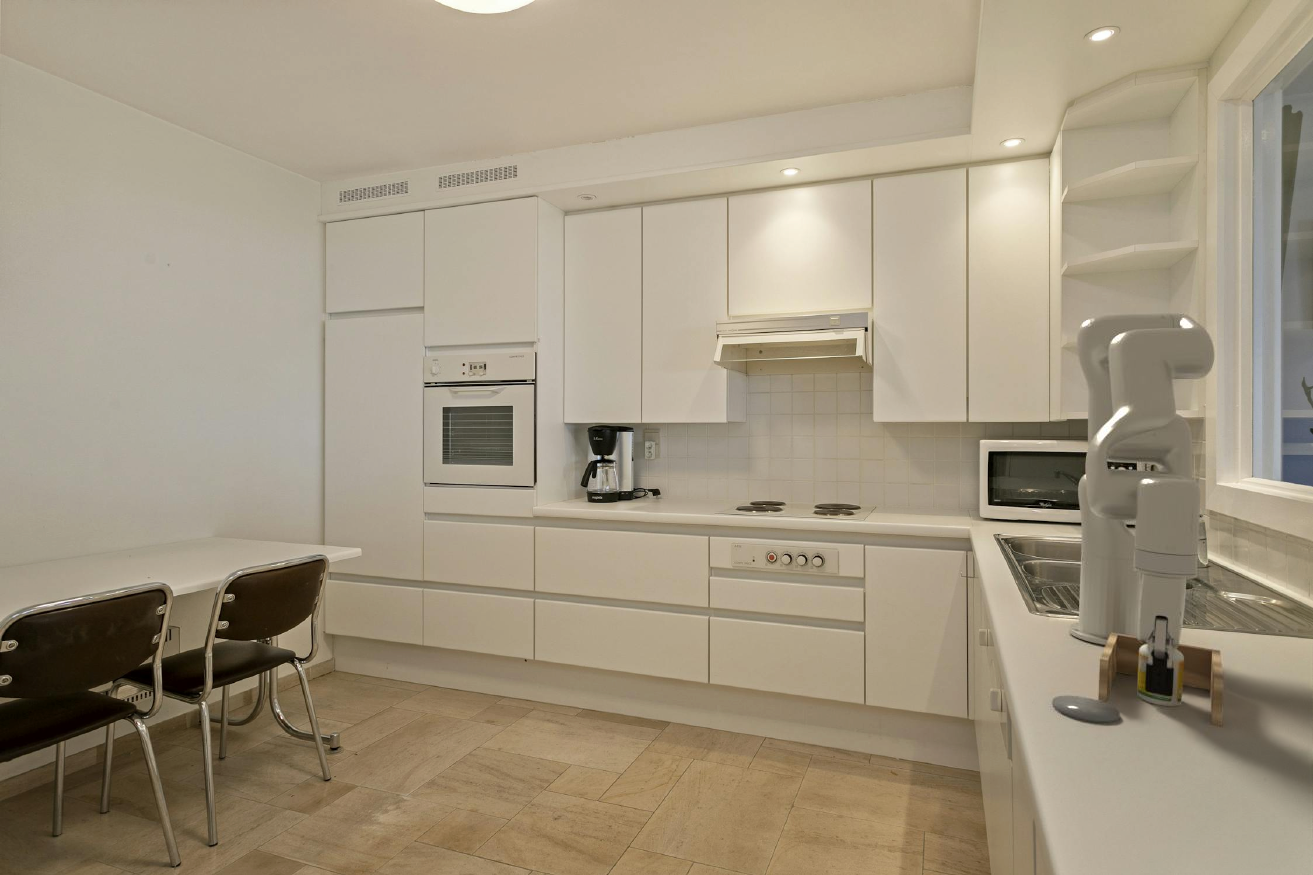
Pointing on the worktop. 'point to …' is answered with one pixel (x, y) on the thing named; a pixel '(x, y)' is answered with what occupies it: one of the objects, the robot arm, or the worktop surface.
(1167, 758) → the worktop surface
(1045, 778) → the worktop surface
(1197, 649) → the wooden u-frame
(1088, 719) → the slate coaster
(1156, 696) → the supplement bottle
